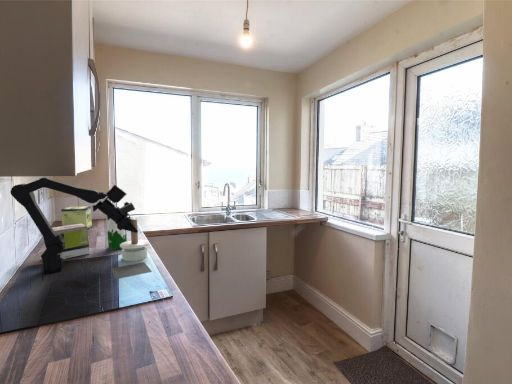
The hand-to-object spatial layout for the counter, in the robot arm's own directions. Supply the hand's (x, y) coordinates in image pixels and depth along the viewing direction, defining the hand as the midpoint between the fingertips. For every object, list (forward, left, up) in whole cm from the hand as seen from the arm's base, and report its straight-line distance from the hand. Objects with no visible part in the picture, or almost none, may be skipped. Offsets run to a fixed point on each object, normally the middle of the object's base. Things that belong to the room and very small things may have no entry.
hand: (137, 231), depth 138 cm
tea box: (-27, +25, -14) cm, 39 cm away
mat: (-6, -15, -13) cm, 21 cm away
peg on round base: (-1, 0, -7) cm, 7 cm away
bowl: (-1, +2, -13) cm, 14 cm away
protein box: (-21, +90, -14) cm, 93 cm away
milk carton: (-5, +26, -14) cm, 30 cm away
